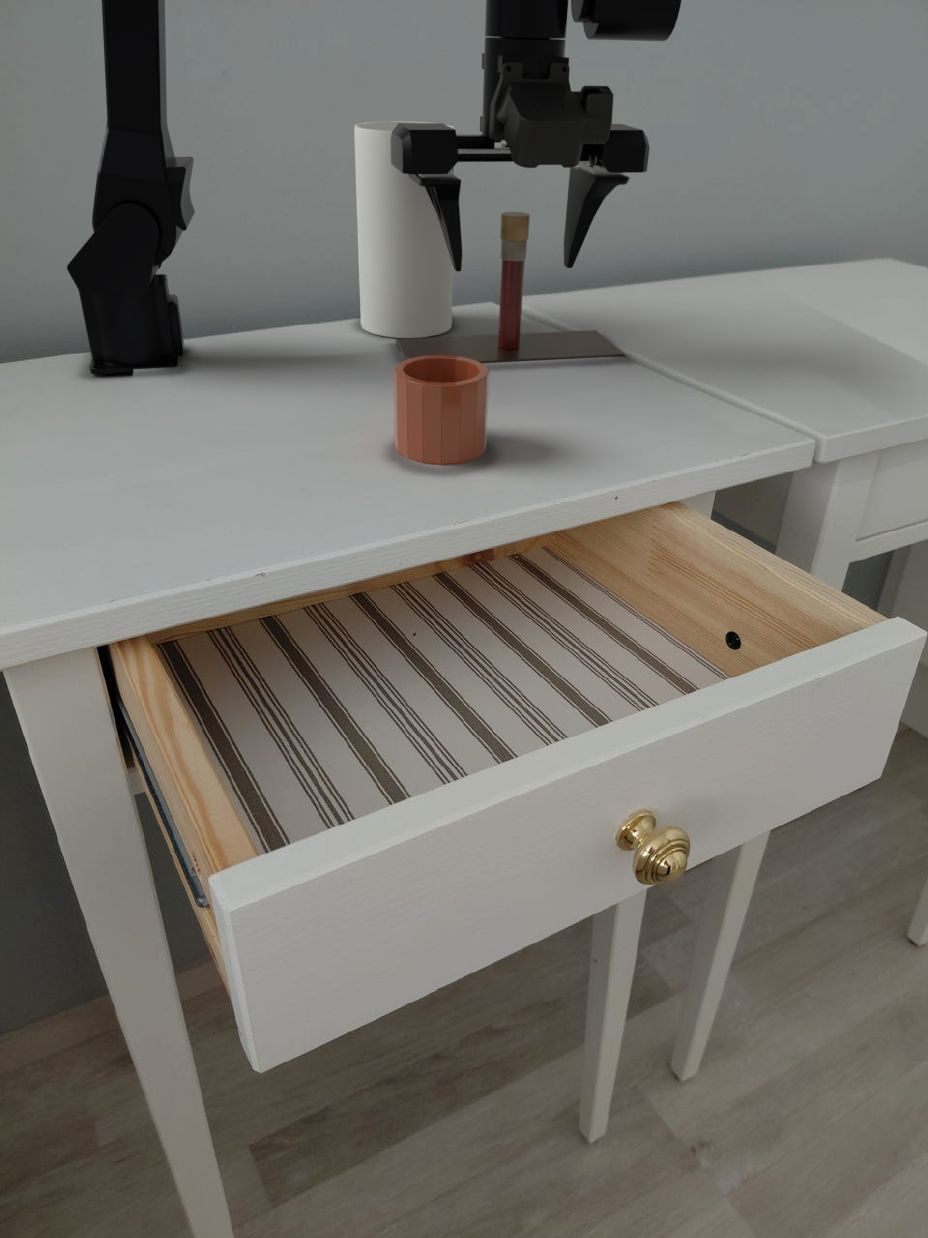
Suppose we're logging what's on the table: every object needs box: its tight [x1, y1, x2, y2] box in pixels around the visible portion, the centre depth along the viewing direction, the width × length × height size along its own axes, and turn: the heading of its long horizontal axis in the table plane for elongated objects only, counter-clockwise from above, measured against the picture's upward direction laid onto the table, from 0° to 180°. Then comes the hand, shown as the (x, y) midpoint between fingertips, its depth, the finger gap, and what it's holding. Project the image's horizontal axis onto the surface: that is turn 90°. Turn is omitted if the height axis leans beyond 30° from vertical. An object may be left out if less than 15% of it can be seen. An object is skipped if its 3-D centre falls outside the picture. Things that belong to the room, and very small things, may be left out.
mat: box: [395, 329, 626, 364], centre depth 78 cm, size 18×7×1 cm, turn 103°
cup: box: [353, 120, 456, 339], centre depth 80 cm, size 8×8×16 cm
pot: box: [393, 355, 490, 466], centre depth 59 cm, size 6×6×6 cm
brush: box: [498, 211, 531, 350], centre depth 75 cm, size 2×2×10 cm
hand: (513, 268), depth 74 cm, fingers open, 9 cm apart
